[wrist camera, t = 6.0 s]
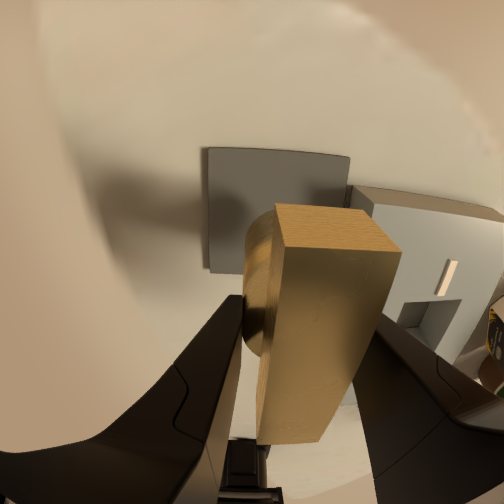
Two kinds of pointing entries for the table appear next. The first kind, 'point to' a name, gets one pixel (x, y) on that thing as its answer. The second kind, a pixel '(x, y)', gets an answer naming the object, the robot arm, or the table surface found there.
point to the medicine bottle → (496, 332)
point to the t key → (311, 311)
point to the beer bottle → (492, 376)
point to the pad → (263, 193)
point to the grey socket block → (437, 263)
